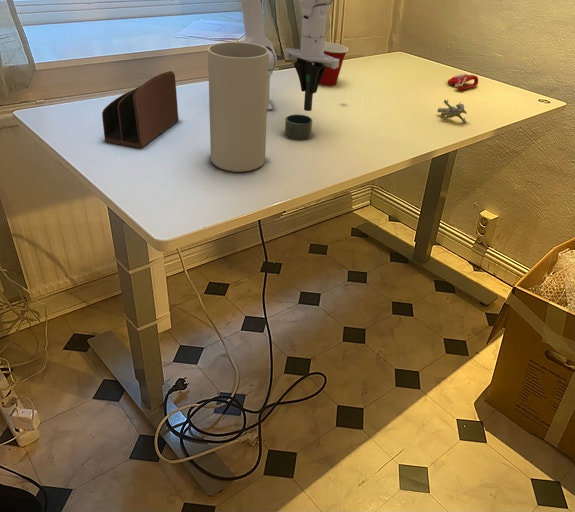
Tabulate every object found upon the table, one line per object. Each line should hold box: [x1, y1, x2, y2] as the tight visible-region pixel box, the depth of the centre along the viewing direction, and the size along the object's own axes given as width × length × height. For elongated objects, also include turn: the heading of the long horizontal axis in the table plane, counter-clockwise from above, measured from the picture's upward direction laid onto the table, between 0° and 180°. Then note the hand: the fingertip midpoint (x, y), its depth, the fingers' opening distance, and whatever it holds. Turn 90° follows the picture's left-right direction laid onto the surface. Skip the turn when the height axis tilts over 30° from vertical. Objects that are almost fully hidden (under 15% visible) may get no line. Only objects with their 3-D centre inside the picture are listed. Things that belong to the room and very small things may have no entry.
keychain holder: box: [447, 73, 479, 90], centre depth 184 cm, size 12×4×10 cm
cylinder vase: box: [207, 41, 269, 173], centre depth 121 cm, size 12×12×25 cm
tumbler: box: [284, 114, 313, 141], centre depth 142 cm, size 7×7×4 cm
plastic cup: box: [319, 41, 349, 87], centre depth 177 cm, size 11×11×12 cm
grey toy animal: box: [437, 99, 468, 124], centre depth 156 cm, size 10×6×9 cm
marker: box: [303, 73, 314, 112], centre depth 140 cm, size 2×2×9 cm
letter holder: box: [101, 70, 180, 149], centre depth 136 cm, size 10×20×14 cm, turn 163°
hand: (309, 91), depth 140 cm, fingers closed on marker, 2 cm apart
